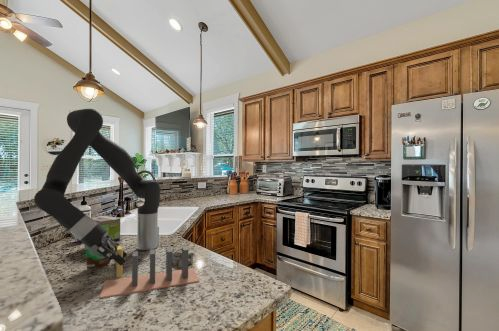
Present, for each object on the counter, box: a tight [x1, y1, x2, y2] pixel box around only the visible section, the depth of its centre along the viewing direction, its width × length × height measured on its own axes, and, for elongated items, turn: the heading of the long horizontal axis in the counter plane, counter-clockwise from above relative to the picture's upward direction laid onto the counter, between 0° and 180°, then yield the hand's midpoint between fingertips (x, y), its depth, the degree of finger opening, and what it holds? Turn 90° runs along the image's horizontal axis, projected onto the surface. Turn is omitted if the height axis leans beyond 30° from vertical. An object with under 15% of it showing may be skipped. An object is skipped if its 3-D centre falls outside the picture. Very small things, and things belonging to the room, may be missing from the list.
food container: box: [83, 236, 112, 270], centre depth 103 cm, size 12×6×10 cm, turn 168°
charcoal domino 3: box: [165, 247, 173, 281], centre depth 90 cm, size 2×5×10 cm, turn 23°
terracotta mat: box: [99, 267, 200, 299], centre depth 87 cm, size 30×12×1 cm, turn 113°
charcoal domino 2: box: [149, 248, 156, 284], centre depth 87 cm, size 2×5×10 cm, turn 22°
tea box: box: [91, 215, 121, 246], centre depth 124 cm, size 15×10×15 cm, turn 58°
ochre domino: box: [115, 244, 124, 279], centre depth 93 cm, size 2×5×10 cm, turn 23°
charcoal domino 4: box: [181, 245, 189, 279], centre depth 92 cm, size 2×5×10 cm, turn 23°
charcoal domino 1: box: [131, 250, 139, 287], centre depth 85 cm, size 2×5×10 cm, turn 23°
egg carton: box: [172, 251, 195, 268], centre depth 106 cm, size 11×8×4 cm
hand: (124, 259), depth 94 cm, fingers open, 6 cm apart
